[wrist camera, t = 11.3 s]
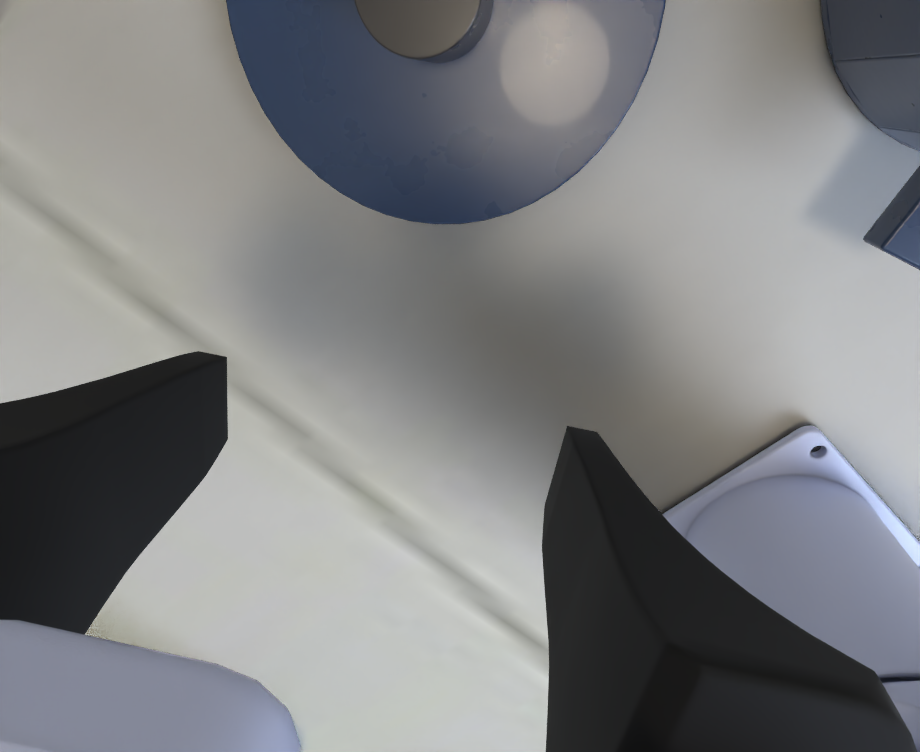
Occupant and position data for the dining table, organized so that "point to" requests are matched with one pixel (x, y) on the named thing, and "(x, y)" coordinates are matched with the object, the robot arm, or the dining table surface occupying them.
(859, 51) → the pot
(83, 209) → the dining table surface
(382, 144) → the lid
